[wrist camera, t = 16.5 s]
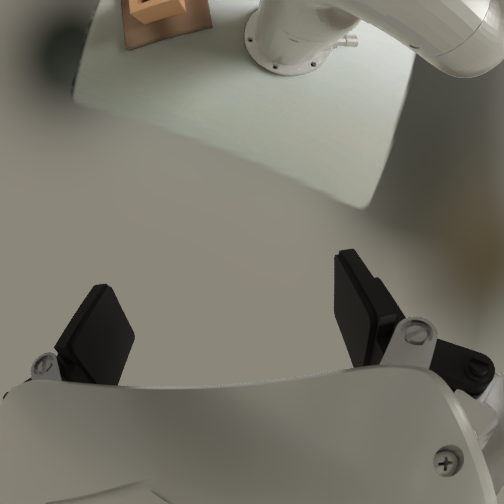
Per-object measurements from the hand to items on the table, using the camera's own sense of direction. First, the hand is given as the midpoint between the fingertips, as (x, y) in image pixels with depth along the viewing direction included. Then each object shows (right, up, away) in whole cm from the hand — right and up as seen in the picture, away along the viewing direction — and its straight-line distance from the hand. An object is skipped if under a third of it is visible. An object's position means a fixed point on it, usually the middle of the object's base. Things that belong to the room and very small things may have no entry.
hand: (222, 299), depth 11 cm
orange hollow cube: (-12, +38, +16) cm, 43 cm away
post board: (-12, +39, +17) cm, 44 cm away
